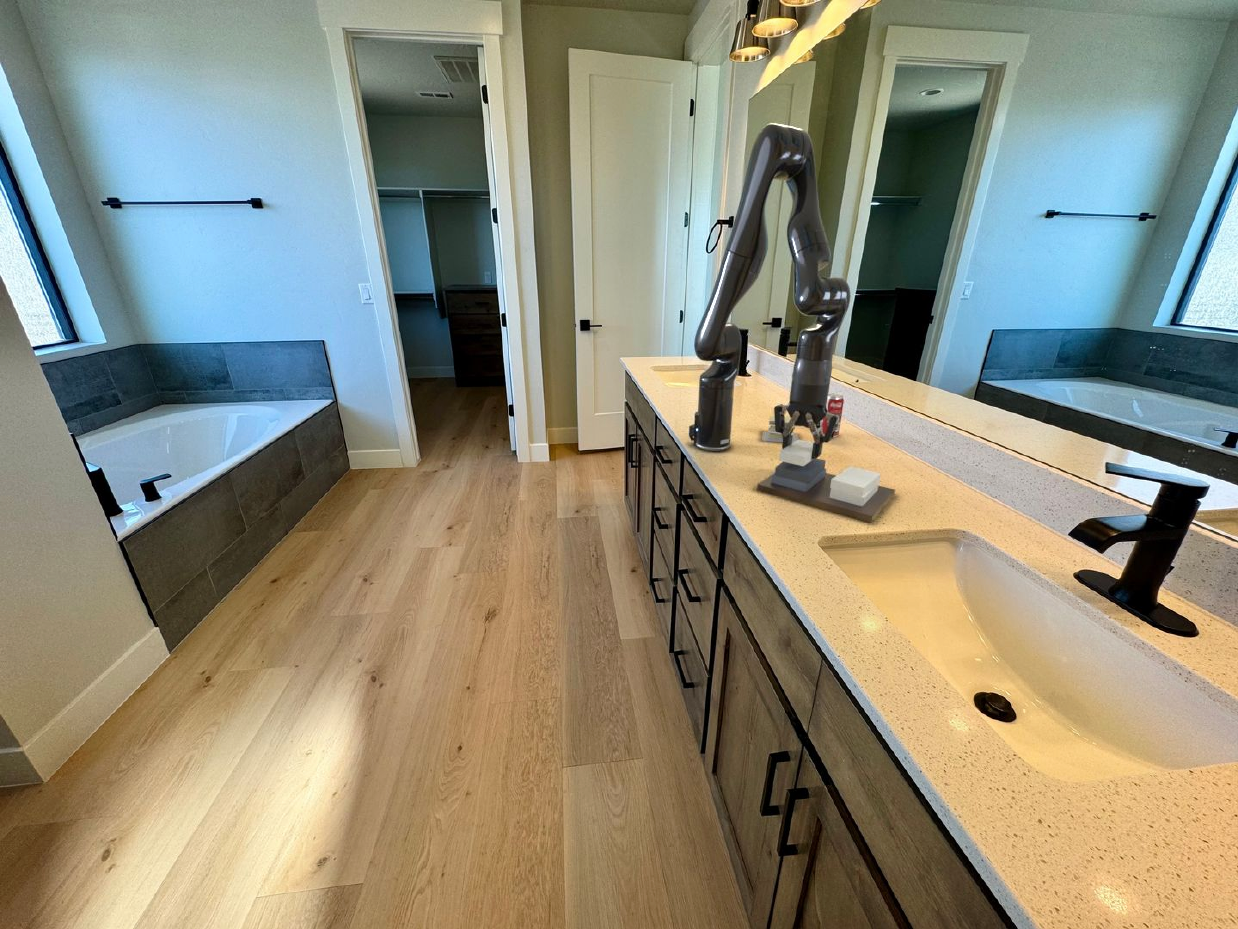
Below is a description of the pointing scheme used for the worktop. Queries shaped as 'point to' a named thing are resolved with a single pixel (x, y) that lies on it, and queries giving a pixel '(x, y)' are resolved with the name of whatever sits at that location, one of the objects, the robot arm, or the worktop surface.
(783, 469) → the grey books
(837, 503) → the walnut board
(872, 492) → the white books
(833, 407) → the soda can
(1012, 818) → the worktop surface
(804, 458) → the frosted white slab
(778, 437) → the stacked layers on plate
